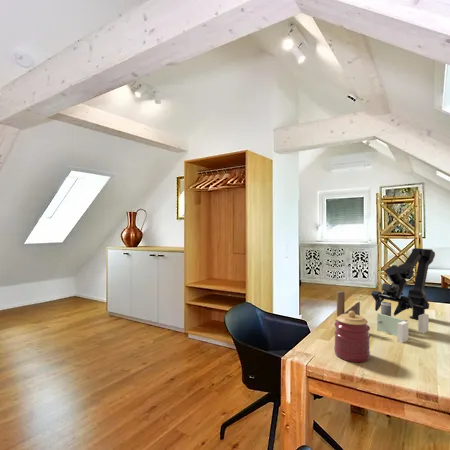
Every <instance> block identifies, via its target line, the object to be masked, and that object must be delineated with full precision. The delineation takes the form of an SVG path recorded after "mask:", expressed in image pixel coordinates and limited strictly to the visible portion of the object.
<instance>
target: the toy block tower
mask: <svg viewBox="0 0 450 450" xmlns="http://www.w3.org/2000/svg"><path fill="white" fill-rule="evenodd" d="M345 295H346V294H345V291H343V290H338V291H336V318H337V317H338V316H340V315H341V314H348V313H349V311H354V312H355V314H356V315H360V314H361V313H360V312H361V311H360V310H361V309H360V307H361V303H360V301H358V302H356V303H355V304H354V305H353V306H351V307H350V308H349V309H347V310H345V297H346V296H345ZM360 316H361V315H360ZM336 321H338V320H337V319H336V320H335V322H336ZM335 322H334V323H335ZM334 327H335V328H336V326H335V325H334Z"/></svg>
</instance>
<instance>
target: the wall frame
mask: <svg viewBox="0 0 450 450" xmlns="http://www.w3.org/2000/svg"><path fill="white" fill-rule="evenodd" d="M429 315H430V314H428V313H425V314H422V315H419V316H418V319H417V320H418V321H417V322H418V323H417V324H418V326H417V327H418V330H417V333H418V334H419V333H420V334H425V333H428V332H429V327H430V325H429V320H430V319H429V317H430V316H429ZM407 341H409V321H407V322H405V321H403V322H400V323H398V336H397V343H398V342H399V343H401V344H402V343H405V342H407Z"/></svg>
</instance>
